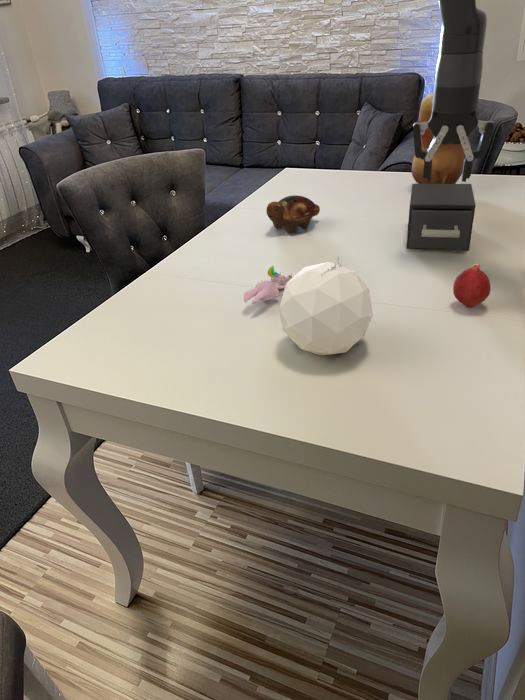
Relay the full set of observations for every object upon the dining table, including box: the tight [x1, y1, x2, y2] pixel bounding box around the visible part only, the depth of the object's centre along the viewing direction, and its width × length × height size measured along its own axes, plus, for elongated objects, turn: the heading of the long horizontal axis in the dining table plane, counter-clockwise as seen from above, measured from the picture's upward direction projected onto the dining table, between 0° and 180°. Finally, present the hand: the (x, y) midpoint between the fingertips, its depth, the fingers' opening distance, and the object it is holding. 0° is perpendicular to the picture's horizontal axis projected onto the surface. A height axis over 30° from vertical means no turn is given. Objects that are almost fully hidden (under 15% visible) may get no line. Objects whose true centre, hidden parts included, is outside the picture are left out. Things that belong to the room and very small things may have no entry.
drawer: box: [409, 208, 472, 251], centre depth 112 cm, size 18×11×8 cm, turn 165°
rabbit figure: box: [243, 265, 293, 304], centre depth 98 cm, size 6×6×15 cm
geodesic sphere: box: [278, 257, 374, 356], centre depth 81 cm, size 15×14×14 cm
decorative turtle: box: [265, 194, 321, 235], centre depth 127 cm, size 10×15×8 cm, turn 132°
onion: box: [452, 263, 492, 309], centre depth 89 cm, size 6×6×8 cm
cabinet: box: [405, 183, 476, 252], centre depth 116 cm, size 15×13×10 cm
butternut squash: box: [411, 92, 466, 184], centre depth 139 cm, size 14×13×25 cm
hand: (446, 180), depth 101 cm, fingers open, 5 cm apart
